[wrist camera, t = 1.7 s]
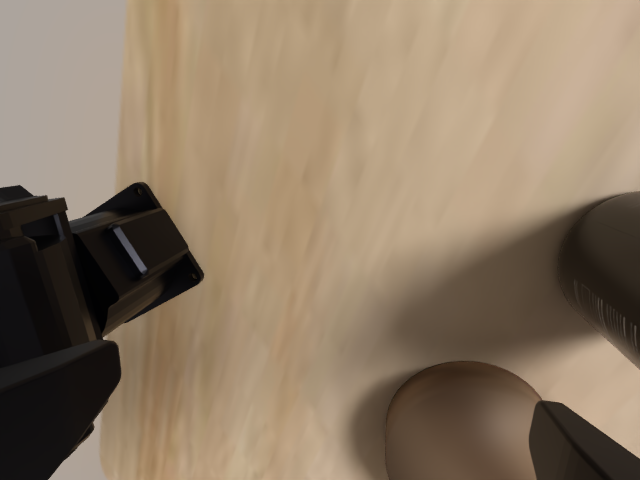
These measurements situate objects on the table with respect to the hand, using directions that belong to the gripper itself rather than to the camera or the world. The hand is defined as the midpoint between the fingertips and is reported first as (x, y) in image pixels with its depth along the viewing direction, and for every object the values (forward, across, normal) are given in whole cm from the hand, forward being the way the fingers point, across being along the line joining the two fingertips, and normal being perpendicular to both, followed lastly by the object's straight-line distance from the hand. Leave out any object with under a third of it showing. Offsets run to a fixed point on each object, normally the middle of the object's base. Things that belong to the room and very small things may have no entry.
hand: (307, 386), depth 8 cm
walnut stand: (+13, -7, +11) cm, 18 cm away
